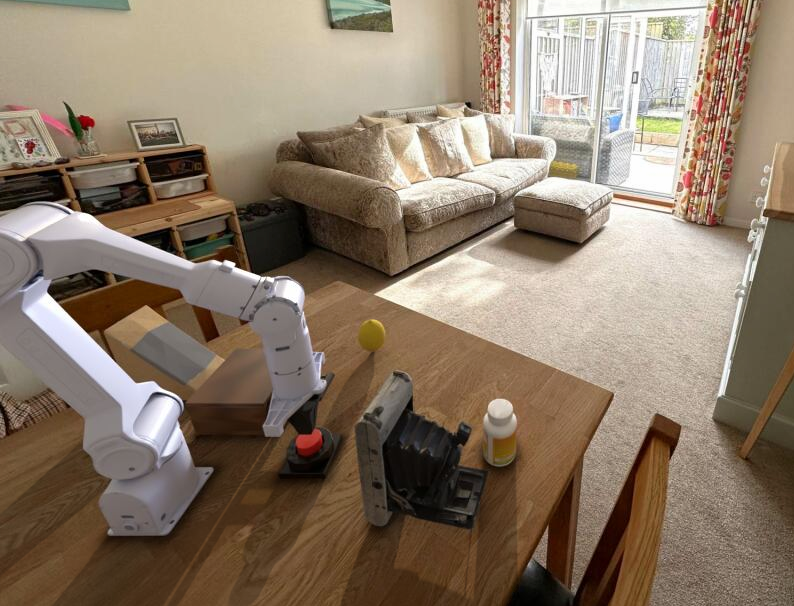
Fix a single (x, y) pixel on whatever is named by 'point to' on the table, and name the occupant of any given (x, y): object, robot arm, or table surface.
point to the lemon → (371, 335)
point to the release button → (309, 443)
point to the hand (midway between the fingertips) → (306, 430)
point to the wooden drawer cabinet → (233, 396)
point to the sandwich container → (160, 353)
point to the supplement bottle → (499, 433)
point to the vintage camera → (413, 462)
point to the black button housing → (311, 458)
